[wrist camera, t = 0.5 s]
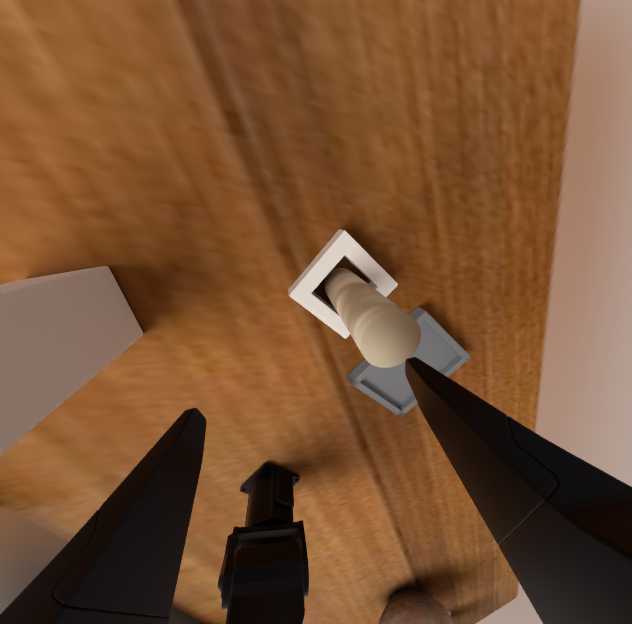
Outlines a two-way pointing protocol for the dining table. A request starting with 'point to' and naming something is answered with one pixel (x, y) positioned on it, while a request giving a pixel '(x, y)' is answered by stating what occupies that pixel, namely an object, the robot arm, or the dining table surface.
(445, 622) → the cooking pot
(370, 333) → the dowel
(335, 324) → the socket
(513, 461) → the robot arm
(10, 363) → the milk carton
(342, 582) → the dining table surface
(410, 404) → the tray
